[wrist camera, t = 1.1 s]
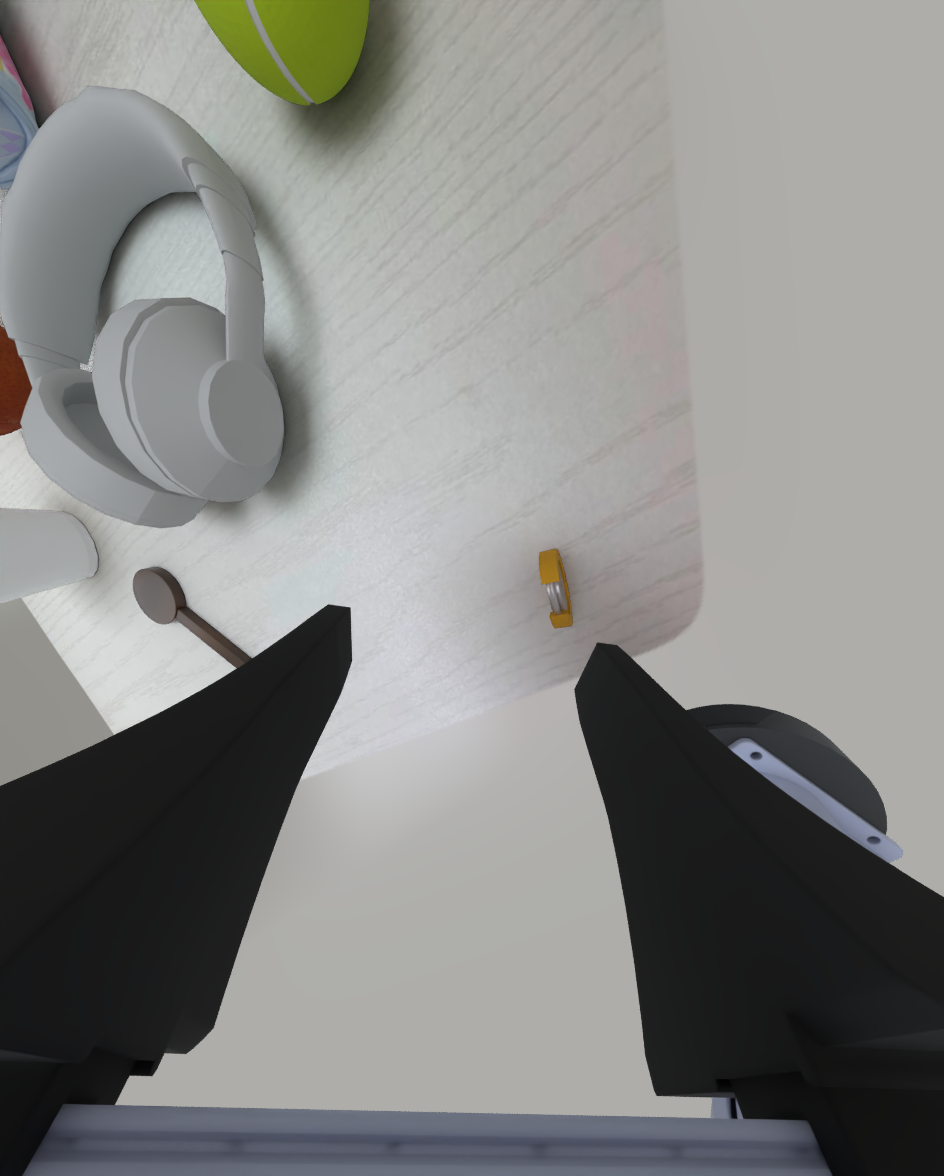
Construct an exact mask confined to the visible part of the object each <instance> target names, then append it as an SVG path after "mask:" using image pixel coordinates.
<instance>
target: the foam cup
mask: <svg viewBox="0 0 944 1176" xmlns="http://www.w3.org/2000/svg"><path fill="white" fill-rule="evenodd" d="M97 568H98V555H97V552H96V549H95V545H94V542H93V540H92V538H91V536H90V535H89V533H88V531H87V530H86V528H85V526H84V525H83V524H82V523H81V522H80V521H79V520H78V519H77V518H76V517H74V516H73V515H71V514H68V513H66V512H64V511H52V510H32V509H11V508H0V603H3V602H7V601H10V600H14V599H17V598H21V597H24V596H28V595H31V594H35V593H38V592H42V591H46V590H49V589H53V588H56V587H60V586H63V585H67V584H70V583H74V582H77V581H81V580H84V579H85V578H89V577H93V575H94V574H95V572H96V571H97Z"/></svg>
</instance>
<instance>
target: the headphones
mask: <svg viewBox="0 0 944 1176" xmlns="http://www.w3.org/2000/svg"><path fill="white" fill-rule="evenodd" d="M173 192H197V194H198V196H199V198H200V199H201V201H202V202H203V205H204V207H205V210H206V212H207V215H208V217H209V220H210V222H211V225H212V227H213V230H214V232H215V235H216V238H217V241H218V245H219V248H220V251H221V253H222V255H223V258H224V264H225V271H226V293H225V310H226V316H225V315H224V314H222V313H221V312H220V311H219V310H218V309H216V308H214V307H212V306H209V305H207V304H204V303H202V302H199V301H197V300H195V299H192V298H161V299H143V300H134V301H132V302H131V303H129V304H127V305H126V306H124V307H122V308H120V309H119V310H117V311H115V312H114V313H112V314H111V315H110V317H109V319H108V320H107V322H106V324H105V326H104V327H103V329H102V331H101V332H100V334H99V336H98V338H97V339H96V344H95V353H94V362H93V371H92V372H89V371H85V370H81V369H80V363H82V364H87V365H88V361H89V358H90V354H91V351H92V347H93V343H94V337H95V330H96V324H97V316H98V308H99V299H100V289H101V285H102V283H103V280H104V278H105V275H106V273H107V270H108V267H109V263H110V259H111V255H112V251H113V249H114V248H115V246H116V244H117V243H118V241H119V240H120V238H121V236H122V234H123V233H124V231H125V229H126V227H127V226H128V224H129V223H130V222H131V221H132V219H133V218H134V217H135V216H136V215H137V214H138V212H140V211H141V210H142V209H143V208H144V207H145V206H147V205H148V204H149V203H151V202H153V201H155V200H157V199H159V198H161V197H163V196H165V195H167V194H169V193H173ZM256 226H257V223H256V220H255V217H254V214H253V211H252V208H251V206H250V203H249V200H248V197H247V195H246V193H245V191H244V189H243V187H242V185H241V183H240V182H239V180H238V179H237V177H236V176H235V175H234V173H233V172H232V170H231V169H230V167H229V166H228V165H227V164H226V163H225V162H224V161H223V159H222V158H221V157H220V156H219V155H218V154H217V153H216V152H215V150H214V149H213V148H212V147H211V146H210V145H209V144H208V143H207V142H206V141H205V140H204V139H203V138H202V137H201V136H200V134H198V133H197V132H196V131H195V130H194V129H193V128H192V127H191V126H190V125H189V124H188V123H187V122H186V121H185V120H184V119H182V118H181V117H180V116H178V115H177V114H176V113H174V112H173V111H171V110H170V109H169V108H167V107H165V106H164V105H162V104H160V103H158V102H157V101H155V100H153V99H151V98H149V97H148V96H146V95H143V94H141V93H139V92H137V91H135V90H127V89H116V88H108V87H100V86H87V87H86V88H85V89H84V90H83V91H82V92H81V93H80V94H79V95H78V96H76V97H75V98H73V99H71V100H69V101H67V102H65V103H63V104H62V105H61V106H60V107H59V108H58V109H57V110H56V111H55V112H54V113H53V114H51V115H50V117H49V118H48V119H47V120H46V121H45V123H44V124H43V125H42V126H41V127H40V129H39V130H38V131H37V133H36V135H35V136H34V138H33V140H32V141H31V143H30V145H29V146H28V148H27V150H26V152H25V154H24V156H23V158H22V160H21V161H20V163H19V166H18V169H17V172H16V175H15V179H14V182H13V184H12V186H11V188H10V189H9V191H8V193H7V195H6V196H5V198H4V200H3V201H2V210H1V225H0V315H1V317H2V320H3V323H4V326H5V329H6V332H7V335H8V337H9V338H10V339H13V340H15V343H16V347H17V351H18V355H19V357H20V358H22V359H23V362H24V365H25V368H26V371H27V374H28V377H29V380H30V383H31V386H32V391H31V393H30V396H29V398H28V401H27V403H26V406H25V409H24V412H23V415H22V419H21V422H20V424H21V426H22V429H23V433H22V436H23V439H24V441H25V444H26V447H27V450H28V453H29V455H30V456H31V458H32V459H33V460H34V461H35V462H36V464H37V465H38V466H39V467H40V468H41V470H42V471H43V472H44V473H45V474H46V476H47V477H48V478H49V479H51V480H52V481H53V482H55V483H56V484H57V485H59V486H60V487H61V488H62V489H64V490H65V491H66V492H68V493H69V494H70V495H71V496H73V497H74V498H76V499H77V500H79V501H81V502H83V503H85V504H87V505H88V506H90V507H92V508H94V509H96V510H98V511H100V512H102V513H104V514H106V515H109V516H112V517H115V518H118V519H120V520H123V521H126V522H129V523H132V524H135V525H142V526H149V527H156V528H168V527H176V526H182V525H184V524H186V523H187V522H189V521H191V520H193V519H194V518H195V517H196V515H197V514H198V513H199V512H200V511H201V510H202V508H203V507H204V506H205V504H206V503H207V502H208V500H210V501H216V502H221V503H224V502H235V501H243V500H245V499H247V498H249V497H251V496H253V495H254V494H256V493H258V492H260V491H261V489H262V488H263V487H264V486H265V485H266V484H267V483H268V481H269V480H270V479H271V478H272V476H273V474H274V472H275V470H276V467H277V465H278V463H279V460H280V458H281V452H282V446H283V439H284V421H283V409H282V405H281V401H280V397H279V393H278V389H277V385H276V382H275V380H274V378H273V376H272V373H271V371H270V369H269V367H268V365H267V363H266V360H265V358H264V312H265V297H264V288H263V283H262V281H263V280H264V279H263V274H262V268H261V263H260V258H259V255H258V251H257V248H256V244H255V241H254V236H255V233H254V230H255V229H256Z"/></svg>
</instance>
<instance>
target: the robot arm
mask: <svg viewBox="0 0 944 1176" xmlns="http://www.w3.org/2000/svg"><path fill="white" fill-rule="evenodd" d="M351 662H352V641H351V608H350V607H343V606H336V605H329V604H328V605H327V606H325V607H324V608H323V609H321V610H320V611H318V612H317V613H316V614H314V615H313V616H311V617H310V618H309V619H307V620H306V621H305V622H303V623H302V624H301V625H299V626H298V627H297V628H295V629H294V630H292V631H291V632H290V633H288V634H287V635H286V636H284V637H283V638H281V639H280V640H278V641H277V642H276V643H274V644H273V645H271V646H270V647H269V648H267V649H266V650H264V651H263V652H261V653H260V654H258V655H257V656H255V657H254V658H252V659H251V660H249V661H248V662H246V663H245V664H243V665H241V666H240V667H238V668H237V669H235V670H234V671H232V672H231V673H229V674H227V675H226V676H224V677H223V678H221V679H219V680H218V681H216V682H214V683H213V684H211V685H209V686H208V687H206V688H204V689H202V690H201V691H199V692H197V693H195V694H193V695H192V696H190V697H188V698H186V699H184V700H182V701H181V702H179V703H177V704H175V705H173V706H172V707H170V708H168V709H166V710H164V711H162V712H160V713H158V714H156V715H154V716H152V717H150V718H148V719H146V720H144V721H142V722H140V723H138V724H136V725H134V726H132V727H130V728H128V729H126V730H124V731H122V732H119V733H117V734H115V735H114V736H111V737H109V738H107V739H106V740H103V741H101V742H99V743H97V744H95V745H93V746H91V747H88V748H86V749H84V750H82V751H80V752H77V753H75V754H73V755H71V756H68V757H66V758H64V759H62V760H59V761H57V762H55V763H53V764H51V765H48V766H46V767H44V768H41V769H39V770H37V771H34V772H32V773H30V774H27V775H25V776H23V777H20V778H18V779H16V780H13V781H11V782H8V783H6V784H4V785H1V786H0V1176H944V897H943V896H941V895H939V894H938V893H936V892H934V891H933V890H931V889H929V888H928V887H926V886H924V885H923V884H921V883H919V882H918V881H916V880H915V879H913V878H911V877H910V876H908V875H907V874H905V873H903V872H902V871H900V870H899V869H897V868H896V867H894V866H893V865H891V864H889V863H890V862H892V861H894V860H897V859H899V858H901V857H902V855H903V850H902V849H901V848H900V847H899V845H898V844H897V843H896V842H895V841H893V840H892V839H890V838H889V837H888V836H886V835H885V834H883V833H882V832H881V831H879V830H878V829H876V828H875V827H874V826H872V825H871V824H869V823H868V822H867V821H865V820H864V819H862V818H861V817H860V816H858V815H857V814H855V813H854V812H853V811H851V810H850V809H848V808H847V807H846V806H844V805H843V804H841V803H840V802H839V801H837V800H836V799H834V798H833V797H832V796H830V795H829V794H827V793H826V792H825V791H823V790H822V789H820V788H819V787H818V786H816V785H815V784H813V783H812V782H811V781H809V780H808V779H806V778H805V777H804V776H802V775H801V774H799V773H798V772H797V771H795V770H794V769H792V768H791V767H790V766H788V765H787V764H785V763H784V762H783V761H781V760H780V759H778V758H777V757H776V756H774V755H773V754H771V753H770V752H769V751H767V750H766V749H764V748H763V747H762V746H760V745H759V744H757V743H756V742H755V741H753V740H751V739H749V738H740V739H738V740H736V741H735V742H734V743H732V744H731V745H729V746H728V747H727V746H726V745H725V744H723V743H722V742H721V741H720V740H719V739H718V738H716V737H715V736H714V735H713V734H712V733H711V732H710V731H708V730H707V729H706V728H705V727H704V726H703V725H702V724H700V723H699V722H698V721H697V720H696V719H695V718H694V717H693V716H692V715H690V714H689V713H688V712H687V711H686V710H685V709H684V708H683V707H682V706H681V705H679V703H678V702H676V701H675V700H674V699H673V698H672V697H671V696H670V695H669V694H668V693H667V692H666V691H665V690H664V689H663V688H662V687H661V686H660V685H659V684H658V683H656V681H654V679H652V678H651V677H650V676H649V675H648V674H647V673H646V672H645V671H644V670H643V669H642V668H641V667H640V666H639V665H638V664H637V663H636V662H635V661H634V660H633V659H632V658H631V657H630V656H629V655H628V654H626V653H625V652H624V651H623V650H622V649H621V648H620V647H619V646H617V645H612V644H605V643H598V642H597V644H596V646H595V648H594V650H593V652H592V654H591V656H590V659H589V661H588V663H587V665H586V667H585V669H584V671H583V673H582V675H581V677H580V679H579V681H578V684H577V685H576V687H575V689H574V690H575V697H576V703H577V709H578V715H579V720H580V724H581V728H582V731H583V734H584V738H585V741H586V745H587V748H588V752H589V755H590V758H591V761H592V765H593V768H594V771H595V774H596V777H597V781H598V784H599V787H600V791H601V794H602V797H603V800H604V804H605V808H606V812H607V815H608V819H609V824H610V829H611V833H612V838H613V843H614V847H615V852H616V858H617V863H618V867H619V873H620V879H621V884H622V890H623V895H624V900H625V906H626V912H627V919H628V924H629V932H630V938H631V945H632V951H633V958H634V964H635V973H636V981H637V988H638V995H639V1004H640V1012H641V1020H642V1029H643V1039H644V1048H645V1056H646V1060H647V1064H648V1068H649V1072H650V1076H651V1080H652V1084H653V1088H654V1091H655V1093H656V1095H657V1096H680V1097H712V1106H711V1118H675V1117H629V1116H628V1117H627V1116H583V1115H580V1116H579V1115H538V1114H537V1115H536V1114H492V1113H446V1112H401V1111H356V1110H355V1111H352V1110H310V1109H263V1108H219V1107H216V1108H215V1107H172V1106H126V1105H115V1103H116V1101H117V1099H118V1097H119V1095H120V1093H121V1091H122V1089H123V1087H124V1085H125V1083H126V1081H127V1079H128V1077H129V1075H130V1076H153V1074H154V1073H155V1071H156V1070H157V1068H158V1066H159V1064H160V1062H161V1059H162V1057H163V1055H164V1053H174V1054H187V1053H188V1052H189V1051H191V1050H192V1049H193V1048H194V1047H195V1046H196V1045H197V1044H198V1043H199V1042H200V1041H202V1040H203V1039H204V1038H205V1037H206V1036H207V1034H208V1033H209V1032H210V1031H211V1030H212V1029H213V1028H214V1025H215V1022H216V1019H217V1015H218V1012H219V1009H220V1006H221V1003H222V999H223V996H224V993H225V990H226V987H227V984H228V981H229V978H230V975H231V972H232V969H233V966H234V962H235V959H236V956H237V953H238V950H239V947H240V944H241V940H242V938H243V935H244V932H245V929H246V926H247V923H248V920H249V917H250V914H251V911H252V908H253V906H254V902H255V900H256V897H257V894H258V891H259V888H260V885H261V882H262V879H263V877H264V874H265V871H266V868H267V865H268V863H269V860H270V857H271V854H272V852H273V849H274V846H275V843H276V840H277V837H278V835H279V832H280V830H281V827H282V824H283V822H284V819H285V816H286V814H287V811H288V808H289V806H290V803H291V800H292V798H293V795H294V792H295V790H296V787H297V785H298V783H299V781H300V778H301V776H302V774H303V771H304V769H305V767H306V765H307V763H308V761H309V759H310V757H311V755H312V753H313V751H314V749H315V746H316V744H317V742H318V740H319V738H320V736H321V734H322V732H323V730H324V728H325V726H326V724H327V722H328V720H329V718H330V715H331V713H332V711H333V709H334V707H335V705H336V703H337V701H338V699H339V696H340V694H341V692H342V689H343V686H344V683H345V680H346V678H347V675H348V671H349V668H350V665H351ZM753 752H758V753H757V754H755V755H751V753H753ZM871 836H872V837H871Z"/></svg>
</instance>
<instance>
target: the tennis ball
mask: <svg viewBox="0 0 944 1176" xmlns="http://www.w3.org/2000/svg"><path fill="white" fill-rule="evenodd" d="M194 1H195V2H196V4H197V6H198V8H199V9H200V11H201V13H202V14H203V16H204V18H205V19H206V21H207V22H208V24H209V26H210V27H211V29H212V30H213V32H214V33H215V35H216V36H217V37H218V39H219V40H220V41H221V43H222V44H223V45H224V47H225V48H226V49H227V51H228V52H229V53H230V54H231V56H232V57H233V58H234V59H235V60H236V61H237V63H238V64H239V65H240V66H241V67H242V68H243V69H244V70H245V71H246V72H247V73H248V74H249V75H250V76H251V77H252V78H253V79H254V80H256V81H257V82H258V83H259V84H261V85H262V86H263V87H265V88H266V89H267V90H269V91H270V92H272V93H273V94H275V95H277V96H279V97H281V98H283V99H284V100H287V101H289V102H292V103H295V104H299V105H310V103H315V104H320V103H323V102H325V101H327V100H329V99H331V98H332V97H334V96H335V95H336V94H337V93H338V92H339V91H340V90H341V89H342V88H343V87H344V86H345V85H346V83H347V82H348V80H349V79H350V77H351V75H352V73H353V72H354V70H355V67H356V65H357V63H358V60H359V57H360V54H361V51H362V48H363V44H364V40H365V35H366V29H367V23H368V14H369V3H370V0H194Z"/></svg>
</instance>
